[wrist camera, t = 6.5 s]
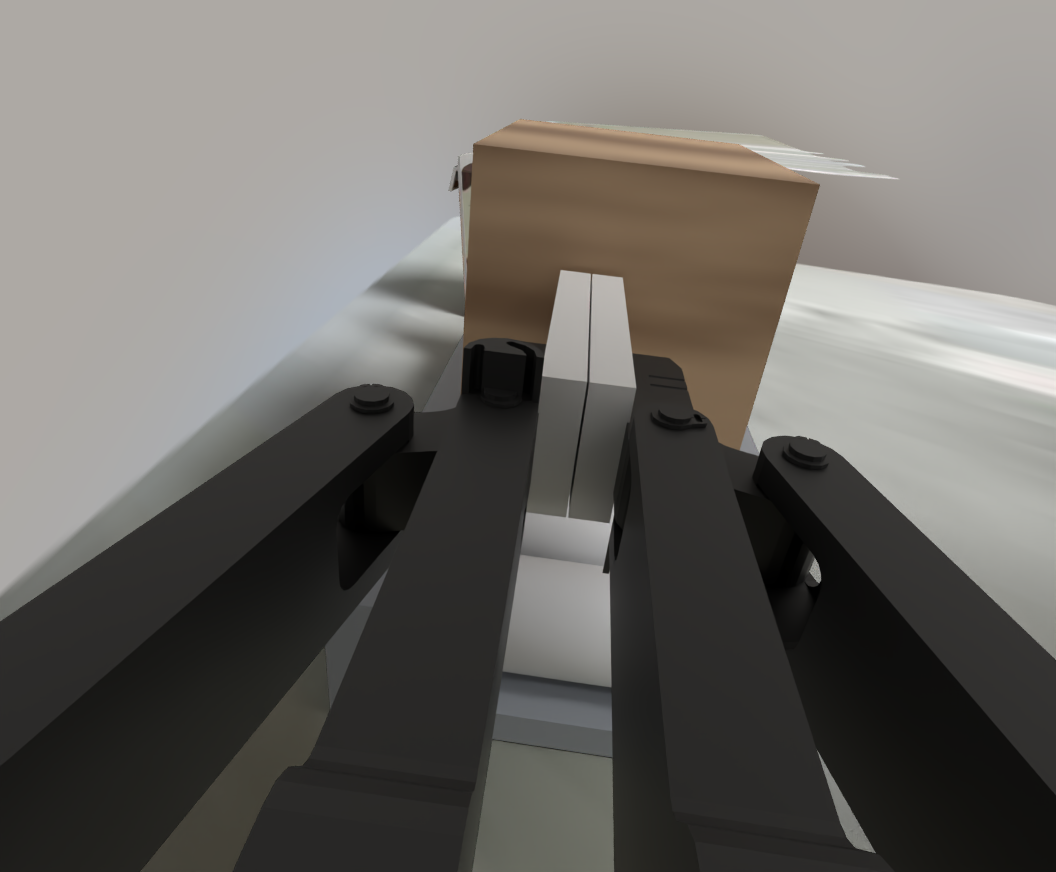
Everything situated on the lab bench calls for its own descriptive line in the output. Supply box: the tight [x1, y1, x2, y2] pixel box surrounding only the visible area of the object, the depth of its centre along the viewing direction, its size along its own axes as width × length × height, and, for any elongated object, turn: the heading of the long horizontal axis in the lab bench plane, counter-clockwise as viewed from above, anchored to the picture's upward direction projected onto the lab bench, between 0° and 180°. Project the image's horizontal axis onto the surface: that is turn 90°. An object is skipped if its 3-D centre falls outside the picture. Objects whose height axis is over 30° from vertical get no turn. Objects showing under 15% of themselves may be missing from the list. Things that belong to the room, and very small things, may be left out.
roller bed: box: [325, 334, 759, 757], centre depth 25 cm, size 25×12×8 cm, turn 174°
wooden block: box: [460, 119, 820, 450], centre depth 21 cm, size 10×8×9 cm
